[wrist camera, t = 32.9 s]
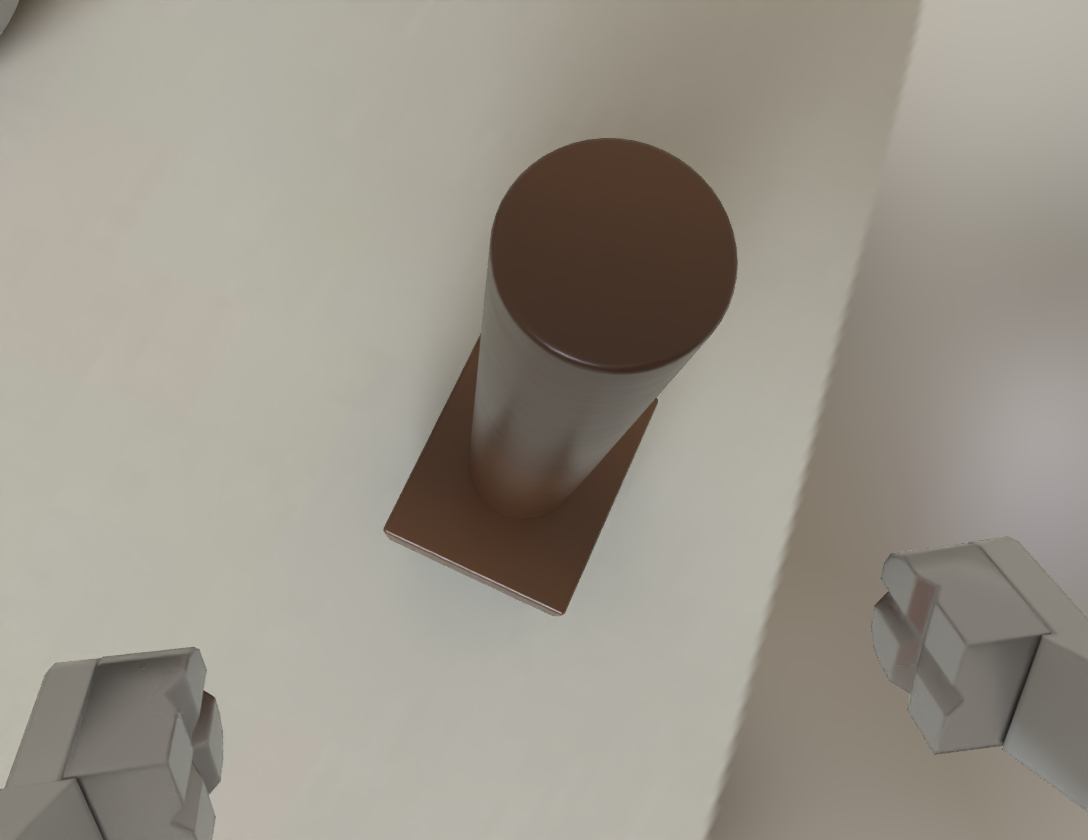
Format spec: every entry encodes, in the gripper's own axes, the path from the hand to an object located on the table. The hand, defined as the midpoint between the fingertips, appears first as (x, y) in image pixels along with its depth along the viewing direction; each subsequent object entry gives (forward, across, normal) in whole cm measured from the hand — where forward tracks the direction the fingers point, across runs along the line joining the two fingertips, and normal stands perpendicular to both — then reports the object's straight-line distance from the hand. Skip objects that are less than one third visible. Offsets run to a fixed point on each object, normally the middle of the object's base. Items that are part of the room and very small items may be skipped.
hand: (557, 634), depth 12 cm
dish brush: (+12, -1, +7) cm, 13 cm away
